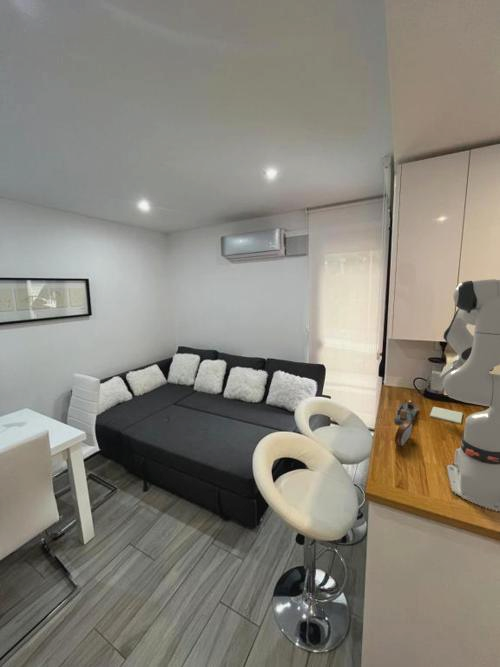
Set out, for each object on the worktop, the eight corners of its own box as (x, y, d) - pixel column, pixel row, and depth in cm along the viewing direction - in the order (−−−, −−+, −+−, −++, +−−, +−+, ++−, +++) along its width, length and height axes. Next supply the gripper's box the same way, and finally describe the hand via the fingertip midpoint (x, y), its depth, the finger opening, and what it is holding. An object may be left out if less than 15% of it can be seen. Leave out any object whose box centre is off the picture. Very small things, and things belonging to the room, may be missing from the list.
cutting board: (460, 424, 133) (461, 422, 133) (429, 416, 142) (429, 415, 141) (462, 414, 143) (462, 412, 143) (433, 407, 151) (433, 406, 151)
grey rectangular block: (442, 391, 137) (443, 374, 136) (430, 389, 140) (431, 372, 139) (442, 388, 140) (444, 372, 139) (431, 386, 143) (432, 370, 142)
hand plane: (409, 426, 132) (410, 414, 131) (394, 422, 137) (394, 410, 136) (418, 410, 149) (418, 399, 148) (403, 407, 153) (404, 396, 152)
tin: (405, 433, 127) (406, 417, 125) (412, 436, 124) (414, 419, 123) (393, 447, 117) (394, 429, 115) (401, 450, 114) (402, 431, 113)
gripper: (457, 354, 141) (433, 369, 149) (455, 364, 125) (428, 380, 133) (467, 363, 139) (443, 378, 147) (466, 374, 123) (438, 390, 131)
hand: (436, 379), depth 140 cm, fingers closed on grey rectangular block, 4 cm apart
